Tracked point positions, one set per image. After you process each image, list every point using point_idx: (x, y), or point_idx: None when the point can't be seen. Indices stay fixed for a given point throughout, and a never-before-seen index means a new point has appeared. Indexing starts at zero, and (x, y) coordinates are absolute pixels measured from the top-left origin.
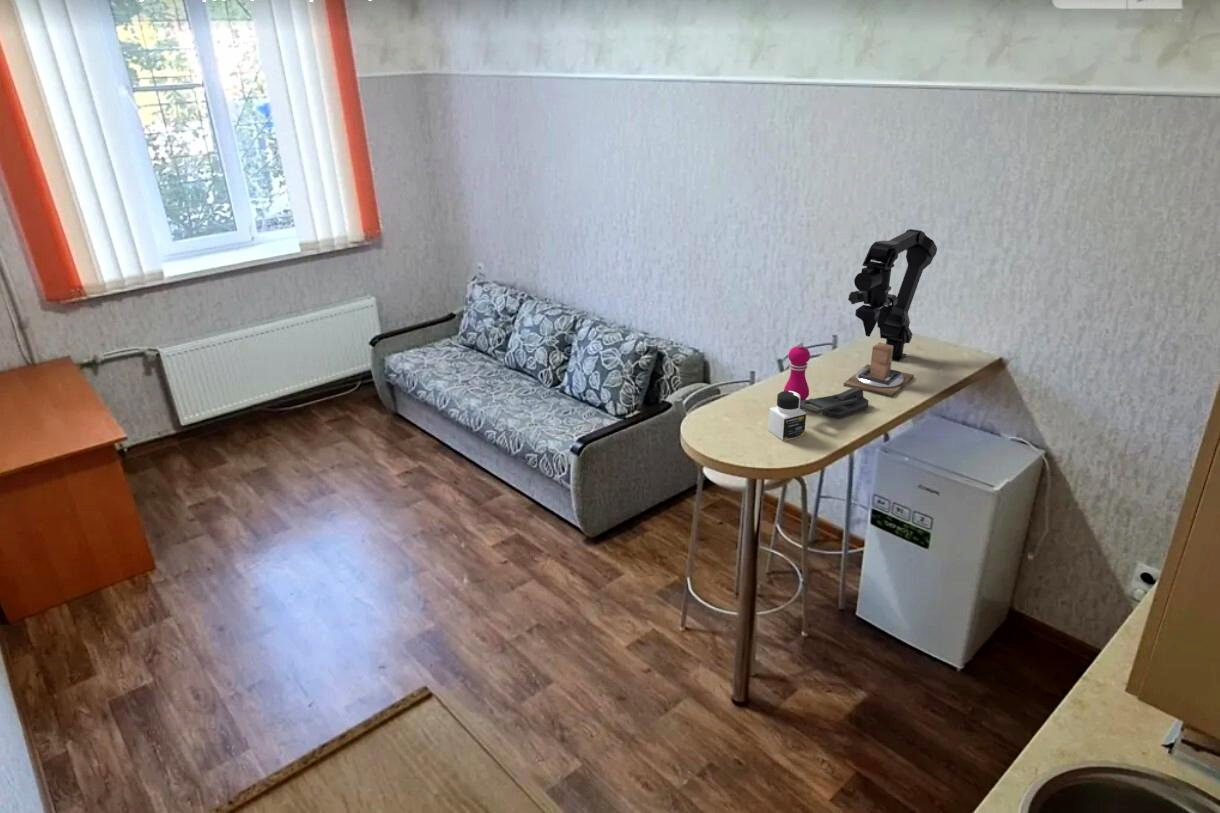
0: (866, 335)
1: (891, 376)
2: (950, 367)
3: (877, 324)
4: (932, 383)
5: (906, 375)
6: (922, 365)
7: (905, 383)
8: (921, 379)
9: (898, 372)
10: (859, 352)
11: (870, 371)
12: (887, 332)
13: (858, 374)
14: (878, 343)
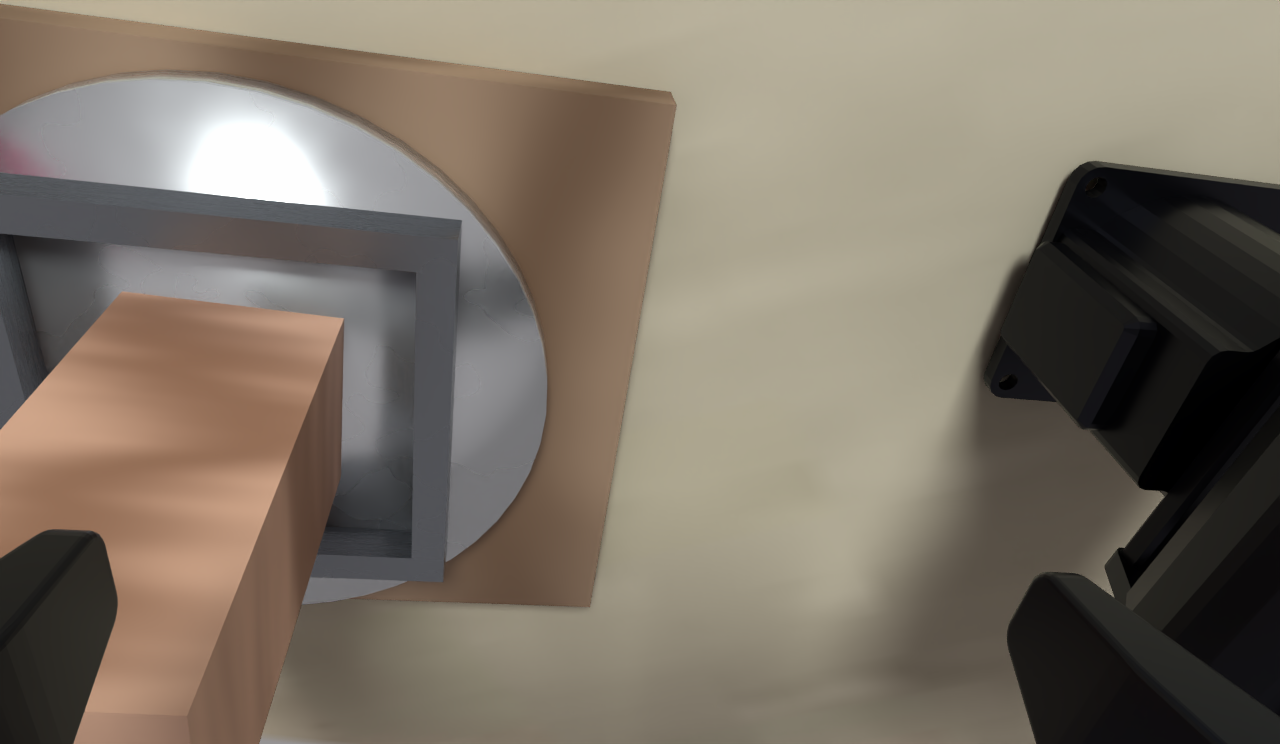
0: (26, 560)
1: (334, 497)
2: (951, 720)
3: (1100, 631)
4: (538, 706)
5: (530, 564)
6: (937, 568)
7: None
8: (582, 634)
9: (406, 567)
10: None
11: (84, 345)
12: (1267, 481)
13: (89, 130)
14: (104, 721)
